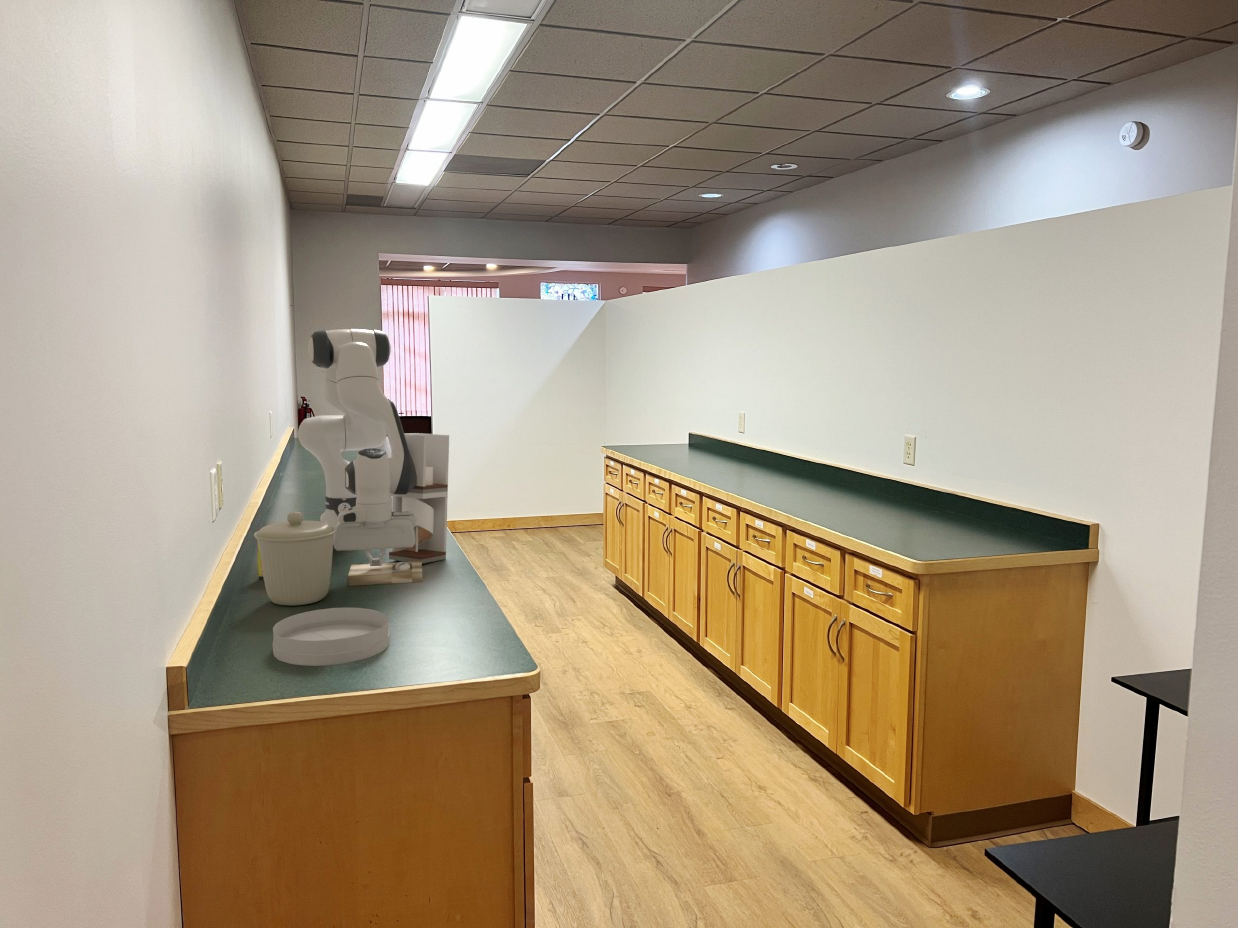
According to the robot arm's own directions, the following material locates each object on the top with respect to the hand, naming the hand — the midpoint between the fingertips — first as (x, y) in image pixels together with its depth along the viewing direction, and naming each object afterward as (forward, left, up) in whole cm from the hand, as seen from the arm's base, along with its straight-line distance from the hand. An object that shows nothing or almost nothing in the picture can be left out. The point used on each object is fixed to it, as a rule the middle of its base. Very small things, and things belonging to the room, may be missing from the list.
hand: (375, 565), depth 227 cm
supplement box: (-7, -25, -4) cm, 27 cm away
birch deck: (0, +3, -3) cm, 4 cm away
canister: (+17, -17, -4) cm, 24 cm away
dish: (+53, -6, -4) cm, 54 cm away
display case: (-18, +11, -3) cm, 21 cm away
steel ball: (0, +7, -1) cm, 7 cm away
